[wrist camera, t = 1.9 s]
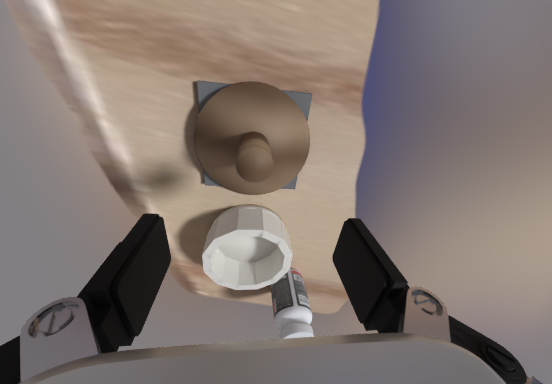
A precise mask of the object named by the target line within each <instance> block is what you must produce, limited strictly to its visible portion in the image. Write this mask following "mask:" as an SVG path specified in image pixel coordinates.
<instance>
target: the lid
mask: <svg viewBox="0 0 552 384" xmlns="http://www.w3.org/2000/svg"><path fill="white" fill-rule="evenodd" d="M194 143H195V149H196V152H197V156H198V158H199V161H200V163H201V165H202V166H203V168H204V169H205V171H206V172H207V173H208V175H209V176H210V177H211V178H212V179H213V180H215V181H216V182H217V183H218V184H220V185H221V186H223V187H225V188H227V189H229V190H231V191H234V192H237V193H241V194H247V195H260V194H266V193H270V192H273V191H276V190H278V189H280V188H282V187H284V186H285V185H287V184H288V183H289V182H291V181H292V180H293V179H294V178H295V177H296V176H297V175H298V173H299V172H300V170H301V169H302V167H303V165H304V164H305V161H306V159H307V156H308V152H309V146H310V134H309V128H308V124H307V121H306V118H305V116H304V114H303V112H302V111H301V109H300V107H299V106H298V105H297V104H296V102H295V101H294V100H293V99H292V98H290V97H289V96H288V95H287V94H285V93H284V92H283V91H281V90H280V89H278V88H276V87H274V86H271V85H268V84H265V83H260V82H241V83H237V84H233V85H230V86H228V87H226V88H224V89H222V90H221V91H219V92H218V93H216V94H215V95H214V96H213V97H212V98H210V100H209V101H208V102H207V103H206V104H205V105H204V107H203V109H202V110H201V112H200V114H199V116H198V119H197V122H196V126H195V133H194Z"/></svg>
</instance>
